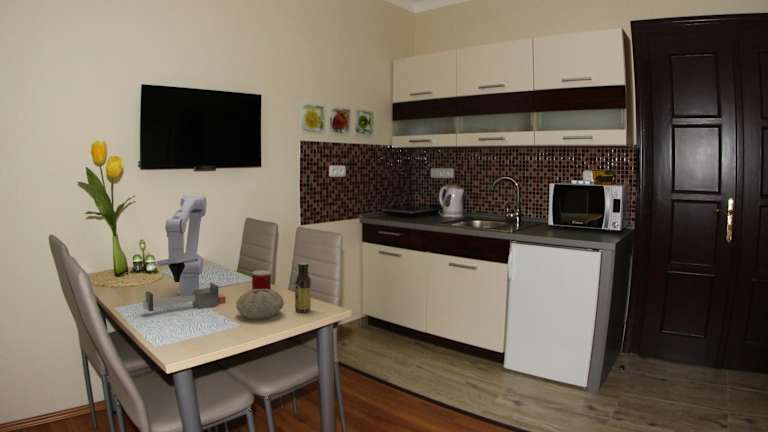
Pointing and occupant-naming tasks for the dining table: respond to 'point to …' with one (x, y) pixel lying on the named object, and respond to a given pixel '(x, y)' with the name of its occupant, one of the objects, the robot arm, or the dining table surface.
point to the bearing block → (207, 297)
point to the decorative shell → (259, 303)
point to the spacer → (222, 299)
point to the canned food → (261, 280)
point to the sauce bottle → (303, 289)
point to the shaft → (166, 300)
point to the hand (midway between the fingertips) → (176, 281)
